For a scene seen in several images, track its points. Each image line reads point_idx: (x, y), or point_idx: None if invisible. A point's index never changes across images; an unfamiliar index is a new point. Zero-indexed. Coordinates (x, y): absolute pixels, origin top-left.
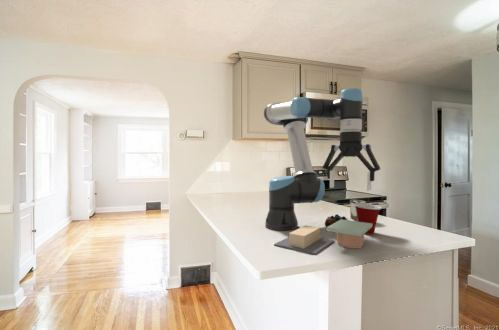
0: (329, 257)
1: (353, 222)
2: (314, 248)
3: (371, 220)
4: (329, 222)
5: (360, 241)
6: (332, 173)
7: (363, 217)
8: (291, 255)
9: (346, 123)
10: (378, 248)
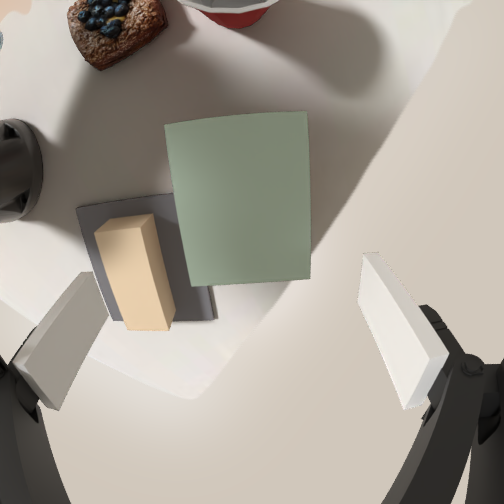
0: (246, 312)
1: (232, 144)
2: (193, 296)
3: (264, 9)
4: (97, 61)
5: None
6: (58, 380)
7: (230, 18)
8: (180, 343)
9: None
10: (328, 166)
